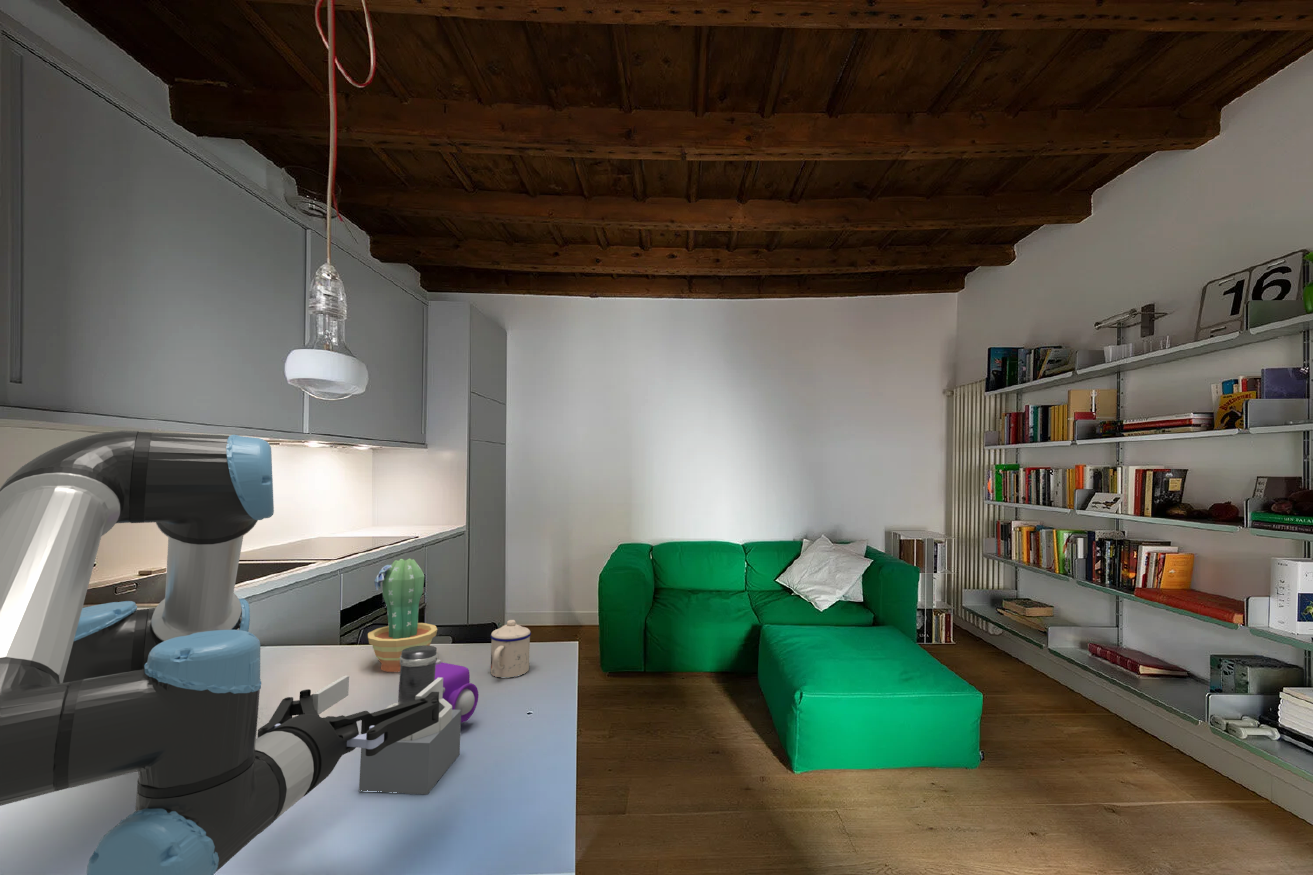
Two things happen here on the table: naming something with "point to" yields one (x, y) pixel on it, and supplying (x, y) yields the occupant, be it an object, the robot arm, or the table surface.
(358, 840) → the table surface
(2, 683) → the robot arm
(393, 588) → the potted cactus
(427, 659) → the lens
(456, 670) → the toy camera
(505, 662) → the teacup with lid
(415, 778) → the camera body block
